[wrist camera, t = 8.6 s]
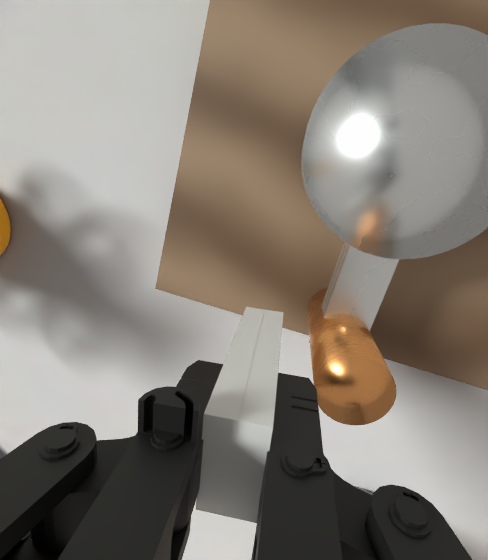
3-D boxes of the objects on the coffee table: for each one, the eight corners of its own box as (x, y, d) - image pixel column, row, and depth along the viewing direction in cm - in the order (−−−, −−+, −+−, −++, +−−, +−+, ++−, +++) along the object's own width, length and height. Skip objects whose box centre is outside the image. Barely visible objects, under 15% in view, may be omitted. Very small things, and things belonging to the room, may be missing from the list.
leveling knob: (331, 45, 15) (366, -87, 8) (511, 88, 15) (730, -9, 7) (255, 309, 19) (230, 387, 12) (393, 350, 19) (457, 459, 11)
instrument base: (245, -110, 16) (231, -192, 12) (686, -14, 15) (806, -74, 11) (166, 285, 22) (142, 303, 19) (471, 377, 21) (506, 415, 17)
